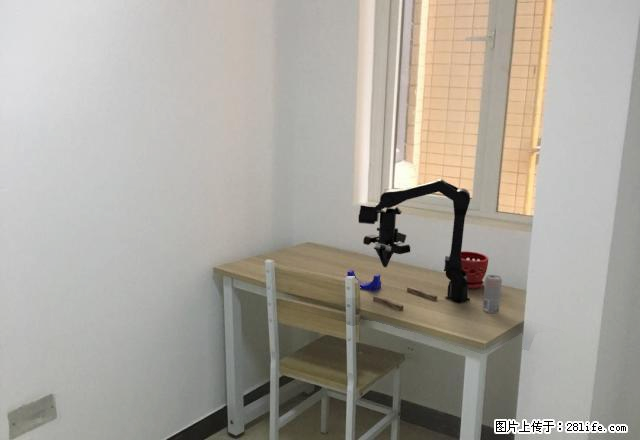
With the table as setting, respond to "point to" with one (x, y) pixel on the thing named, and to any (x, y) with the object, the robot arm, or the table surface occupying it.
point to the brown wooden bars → (400, 307)
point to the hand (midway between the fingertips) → (385, 267)
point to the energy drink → (492, 294)
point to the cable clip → (372, 286)
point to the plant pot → (474, 268)
